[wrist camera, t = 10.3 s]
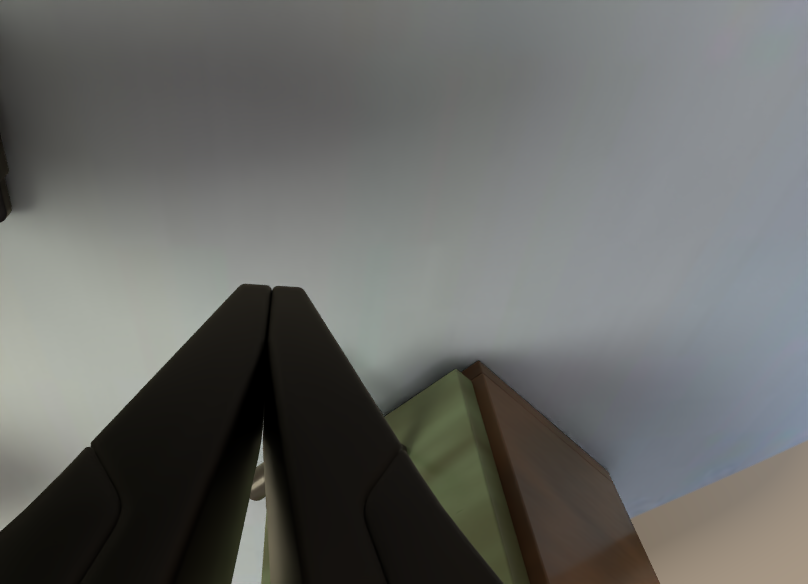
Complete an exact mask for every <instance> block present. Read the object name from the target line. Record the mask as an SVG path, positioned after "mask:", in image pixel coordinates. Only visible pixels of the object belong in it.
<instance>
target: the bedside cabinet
mask: <svg viewBox="0 0 808 584" xmlns="http://www.w3.org/2000/svg"><path fill="white" fill-rule="evenodd" d="M461 373H462V374H463V375H464V376H465V377H467V378H468V379H469V380H470V381H471V382H472V385H473V388H474V392H475V395H476V398H477V402H478V405H479V409H480V412H481V416H482V419H483V423H484V426H485V430H486V433H487V436H488V440H489V443H490V447H491V450H492V454H493V457H494V461H495V464H496V467H497V471H498V474H499V478H500V481H501V485H502V488H503V492H504V495H505V499H506V502H507V505H508V509H509V512H510V516H511V519H512V523H513V526H514V530H515V533H516V536H517V540H518V543H519V547H520V550H521V554H522V557H523V561H524V564H525V568H526V571H527V574H528V578H529V581H530V584H660V582H659V580H658V578H657V576H656V574H655V572H654V569H653V568H652V565H651V563H650V561H649V559H648V556H647V554H646V552H645V550H644V548H643V546H642V544H641V542H640V539H639V537H638V535H637V533H636V531H635V528H634V526H633V524H632V522H631V520H630V518H629V516H628V513H627V511H626V509H625V507H624V505H623V503H622V500H621V498H620V496H619V494H618V492H617V490H616V488H615V485H614V484H613V481H612V479H611V477H610V475H609V472H608V471H607V470H605V469H604V468H603V467H602V466H601V465H600V464H598V463H597V462H596V461H595V460H594V459H593V458H591V457H590V456H589V455H588V454H587V453H586V452H584V451H583V450H582V449H581V448H580V447H579V446H577V445H576V444H575V443H574V442H573V441H572V440H571V439H569V438H568V437H567V436H566V435H565V434H564V433H562V432H561V431H560V430H559V429H558V428H557V427H555V426H554V425H553V424H552V423H551V422H550V421H548V420H547V419H546V418H545V417H544V416H543V415H541V414H540V413H539V412H538V411H537V410H536V409H534V408H533V407H532V406H531V405H530V404H529V403H528V402H526V401H525V400H524V399H523V398H522V397H521V396H519V395H518V394H517V393H516V392H515V391H514V390H512V389H511V388H510V387H509V386H508V385H507V384H505V383H504V382H503V381H502V380H501V379H500V378H498V377H497V376H496V375H495V374H494V373H493V372H491V371H490V370H489V369H488V368H487V367H486V366H484V365H483V364H482V363H481V362H480V361H477V362H475V363H474V364H472V365H471V366H469V367H468V368H466V369H465V370H463V371H462V372H461Z"/></svg>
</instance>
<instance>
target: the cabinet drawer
mask: <svg viewBox="0 0 808 584" xmlns="http://www.w3.org/2000/svg"><path fill="white" fill-rule="evenodd" d="M384 418H385V419H386V421H387V422H388V424H389V425H390V427H391V429H392V430H393V432H394V433H395V435H396V437H397V438H398V440H399V441H400V443H401V445H402V447H403V448H402V450H405V451H406V452H407V454H408V455H409V457H410V458H411V460H412V462H413V463H414V465H415V466H416V468H417V470H418V471H419V473H420V474H421V476H422V477H423V479H424V480H425V482H426V483H427V485H428V486H429V488H430V489H431V490H432V492H433V493H434V495H435V496H436V498H437V499H438V501H439V502H440V504H441V505H442V507H443V508H444V509H445V510H446V512H447V513H448V514H449V516H450V517H451V518H452V520H453V521H454V522H455V523H456V525H457V526H458V527H459V529H460V530H461V531H462V532H463V534H464V535H465V536H466V538H467V539H468V540H469V541H470V543H471V544H472V545H473V546H474V548H475V549H476V550H477V551H478V552H479V554H480V555H481V556H482V557H483V559H484V560H485V561H486V562H487V564H488V565H489V566H490V567H491V568H492V570H493V571H494V572H495V573H496V575H497V576H498V577H499V578H500V579H501V581H502V582H503V583H504V584H530V581H529V578H528V574H527V571H526V568H525V564H524V561H523V557H522V554H521V550H520V547H519V543H518V540H517V536H516V533H515V530H514V526H513V523H512V519H511V516H510V512H509V509H508V505H507V502H506V499H505V495H504V492H503V488H502V485H501V481H500V478H499V474H498V471H497V467H496V464H495V461H494V457H493V454H492V450H491V447H490V443H489V440H488V436H487V433H486V430H485V426H484V423H483V419H482V416H481V412H480V409H479V405H478V402H477V398H476V395H475V392H474V388H473V385H472V382H471V381H470V380H469V379H468V378H467V377H465V376H464V375H463V374H462V373H461V372H459V371H458V370H457V369H455V370H453V371H452V372H450V373H449V374H447V375H446V376H444V377H443V378H441V379H440V380H438V381H437V382H435V383H434V384H432V385H431V386H429V387H428V388H426V389H425V390H423V391H422V392H420V393H419V394H418V395H416V396H415V397H413V398H412V399H410V400H409V401H407V402H406V403H404V404H403V405H401V406H400V407H398V408H397V409H395V410H394V411H392V412H391V413H389V414H388V415H386V416H385V417H384ZM264 497H266V494H265V477H264V462H263V463H262V464H260V465H259V466H257V467H256V470H255V475H254V479H253V484H252V489H251V493H250V499H251V500H254V501H259V500H261V499H263V498H264ZM261 584H271V580H270V563H269V546H268V529H267V511H266V525H265V539H264V553H263V567H262V581H261Z"/></svg>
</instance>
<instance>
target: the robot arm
mask: <svg viewBox="0 0 808 584" xmlns="http://www.w3.org/2000/svg"><path fill="white" fill-rule="evenodd" d="M8 172H9V168H8V164H7V160H6V156H5V152H4V147H3V143H2V139H1V135H0V222H2V221H4V220H5V219H6V218H7V216H8V215H9V214H10V212H11V211H12V205H11V201H10V197H9V193H8V189H7V185H6V181H5V178H4V177H5V176H6V175H7V174H8ZM263 420H264V426H263ZM262 430H263V460H264V477H265V494H266V511H267V529H268V546H269V563H270V580H271V584H504V583H503V582H502V581H501V579H500V578H499V577H498V576H497V575H496V573H495V572H494V571H493V570H492V568H491V567H490V566H489V565H488V564H487V562H486V561H485V560H484V559H483V557H482V556H481V555H480V554H479V552H478V551H477V550H476V549H475V548H474V546H473V545H472V544H471V543H470V541H469V540H468V539H467V538H466V536H465V535H464V534H463V532H462V531H461V530H460V529H459V527H458V526H457V525H456V523H455V522H454V521H453V520H452V518H451V517H450V516H449V514H448V513H447V512H446V510H445V509H444V508H443V507H442V505H441V504H440V502H439V501H438V499H437V498H436V496H435V495H434V493H433V492H432V490H431V489H430V488H429V486H428V485H427V483H426V482H425V480H424V479H423V477H422V476H421V474H420V473H419V471H418V470H417V468H416V466H415V465H414V463H413V462H412V460H411V458H410V457H409V455H408V454H407V452H406V451H405V450H402V448H403V447H402V445H401V443H400V441H399V440H398V438H397V437H396V435H395V433H394V432H393V430H392V429H391V427H390V425H389V424H388V422H387V421H386V419H385V418H384V416H383V414H382V413H381V411H380V410H379V408H378V406H377V405H376V403H375V402H374V400H373V399H372V397H371V395H370V394H369V392H368V391H367V389H366V387H365V386H364V384H363V383H362V381H361V379H360V378H359V376H358V375H357V373H356V372H355V370H354V368H353V367H352V365H351V364H350V362H349V360H348V359H347V357H346V356H345V354H344V353H343V351H342V349H341V348H340V346H339V345H338V343H337V341H336V340H335V338H334V337H333V335H332V334H331V332H330V330H329V329H328V327H327V326H326V324H325V322H324V321H323V319H322V318H321V316H320V314H319V313H318V311H317V310H316V308H315V307H314V305H313V303H312V302H311V300H310V299H309V297H308V295H307V294H306V292H305V291H304V290H303V289H302V288H300V287H287V286H276V287H274V288H273V290H272V289H271V287H270V286H268V285H255V284H242V285H240V286H239V287H238V288H237V289H236V290H235V291H234V292H233V293H232V294H231V295H230V297H229V298H228V299H227V300H226V301H225V302H224V303H223V304H222V305H221V306H220V307H219V308H218V309H217V310H216V311H215V312H214V313H213V314H212V316H211V317H210V318H209V319H208V320H207V321H206V322H205V323H204V324H203V325H202V326H201V327H200V328H199V329H198V330H197V331H196V332H195V333H194V335H193V336H192V337H191V338H190V339H189V340H188V341H187V342H186V343H185V344H184V345H183V346H182V347H181V348H180V349H179V350H178V351H177V352H176V353H175V355H174V356H173V357H172V358H171V359H170V360H169V361H168V362H167V363H166V364H165V365H164V366H163V367H162V368H161V369H160V370H159V371H158V372H157V374H156V375H155V376H154V377H153V378H152V379H151V380H150V381H149V382H148V383H147V384H146V385H145V386H144V387H143V388H142V389H141V390H140V391H139V392H138V394H137V395H136V396H135V397H134V398H133V399H132V400H131V401H130V402H129V403H128V404H127V405H126V406H125V407H124V408H123V409H122V410H121V411H120V413H119V414H118V415H117V416H116V417H115V418H114V419H113V420H112V421H111V422H110V423H109V424H108V425H107V426H106V427H105V428H104V429H103V430H102V431H101V433H100V434H99V435H98V436H97V437H96V438H95V439H94V440H93V441H92V442H91V447H86V448H85V449H84V450H83V451H82V452H81V453H80V454H79V455H78V456H77V457H76V458H75V459H74V461H73V462H72V463H71V464H70V465H69V466H68V467H67V468H66V469H65V470H64V471H63V472H62V473H61V474H60V475H59V476H58V477H57V478H56V479H55V480H54V481H53V482H52V483H51V484H50V485H49V486H48V487H47V488H46V489H45V490H44V491H43V492H42V493H41V494H40V495H39V496H38V497H37V498H36V499H35V500H34V501H33V502H32V503H31V504H30V505H29V506H28V507H27V508H26V509H25V510H24V511H23V512H22V513H20V514H19V515H18V516H17V517H16V518H15V519H14V520H13V521H12V522H10V523H9V524H8V525H7V526H6V527H5V528H4V529H3V530H2V531H0V584H231V582H232V578H233V573H234V568H235V563H236V559H237V554H238V549H239V545H240V540H241V535H242V531H243V526H244V521H245V517H246V512H247V507H248V503H249V498H250V493H251V489H252V484H253V479H254V475H255V470H256V465H257V461H258V456H259V450H260V445H261V439H262Z"/></svg>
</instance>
